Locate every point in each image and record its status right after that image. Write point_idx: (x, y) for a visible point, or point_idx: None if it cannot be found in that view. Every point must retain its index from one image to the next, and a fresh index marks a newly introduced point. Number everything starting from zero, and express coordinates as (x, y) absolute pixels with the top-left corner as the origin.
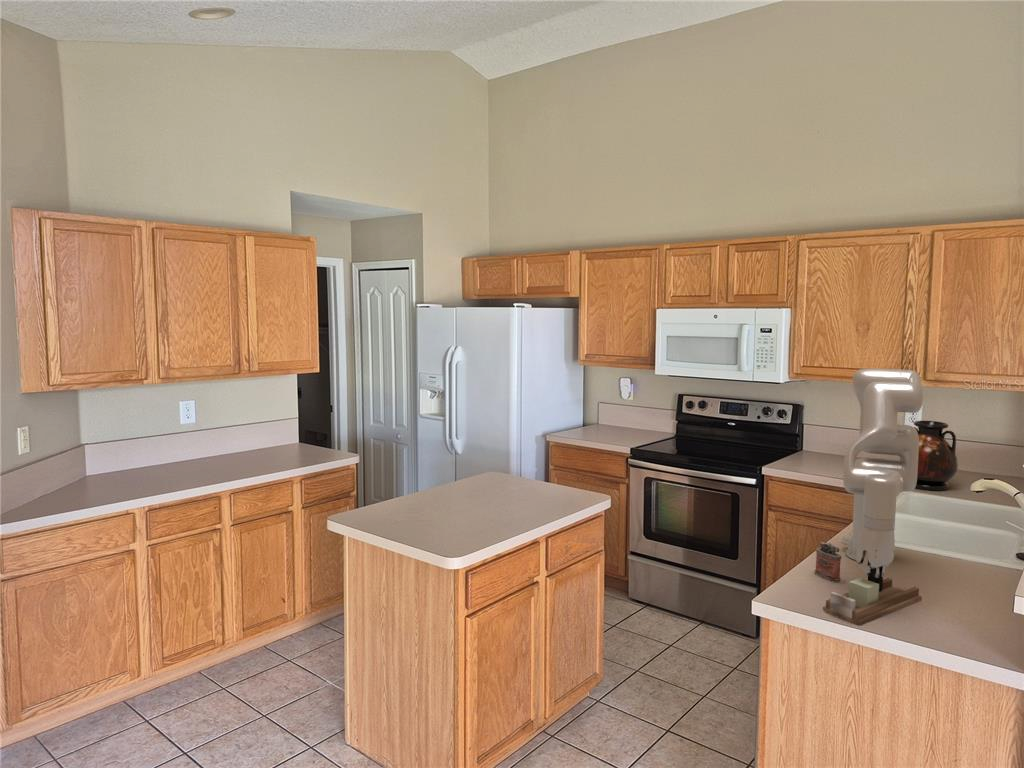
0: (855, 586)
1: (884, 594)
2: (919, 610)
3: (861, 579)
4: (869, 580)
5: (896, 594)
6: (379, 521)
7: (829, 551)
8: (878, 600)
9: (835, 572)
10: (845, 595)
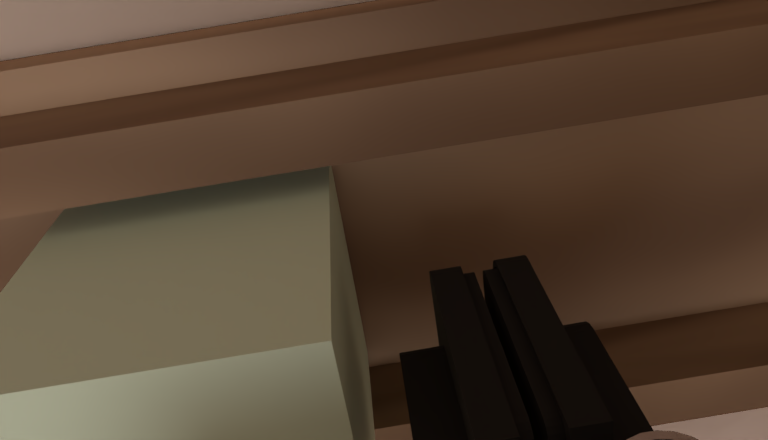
0: None
1: (762, 151)
2: (717, 431)
3: (268, 402)
4: (412, 436)
5: (704, 386)
6: None
7: None
8: (528, 244)
9: None
10: (22, 193)
